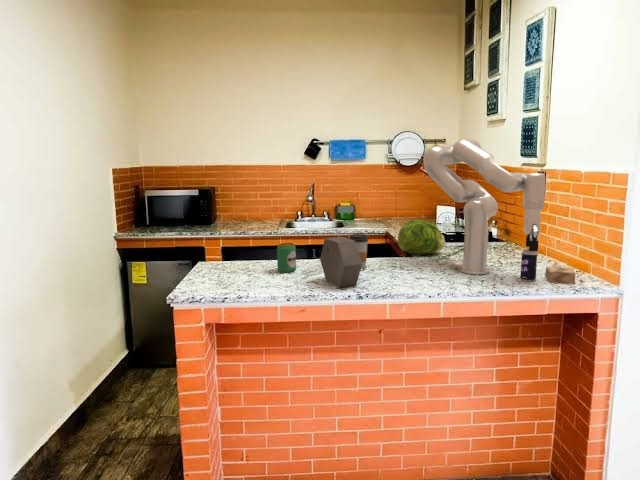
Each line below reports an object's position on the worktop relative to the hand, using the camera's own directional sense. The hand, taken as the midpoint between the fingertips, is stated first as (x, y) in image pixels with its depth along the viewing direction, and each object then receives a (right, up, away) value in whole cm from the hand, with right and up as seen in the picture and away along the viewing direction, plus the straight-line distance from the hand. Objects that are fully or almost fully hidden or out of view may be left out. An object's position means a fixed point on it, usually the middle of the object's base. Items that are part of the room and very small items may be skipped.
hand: (531, 248), depth 191 cm
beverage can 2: (0, -13, +3) cm, 13 cm away
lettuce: (-32, -4, +55) cm, 64 cm away
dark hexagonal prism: (-75, -14, 0) cm, 76 cm away
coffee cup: (-66, -10, +24) cm, 71 cm away
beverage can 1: (-97, -10, +20) cm, 100 cm away
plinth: (+12, -13, +2) cm, 18 cm away
